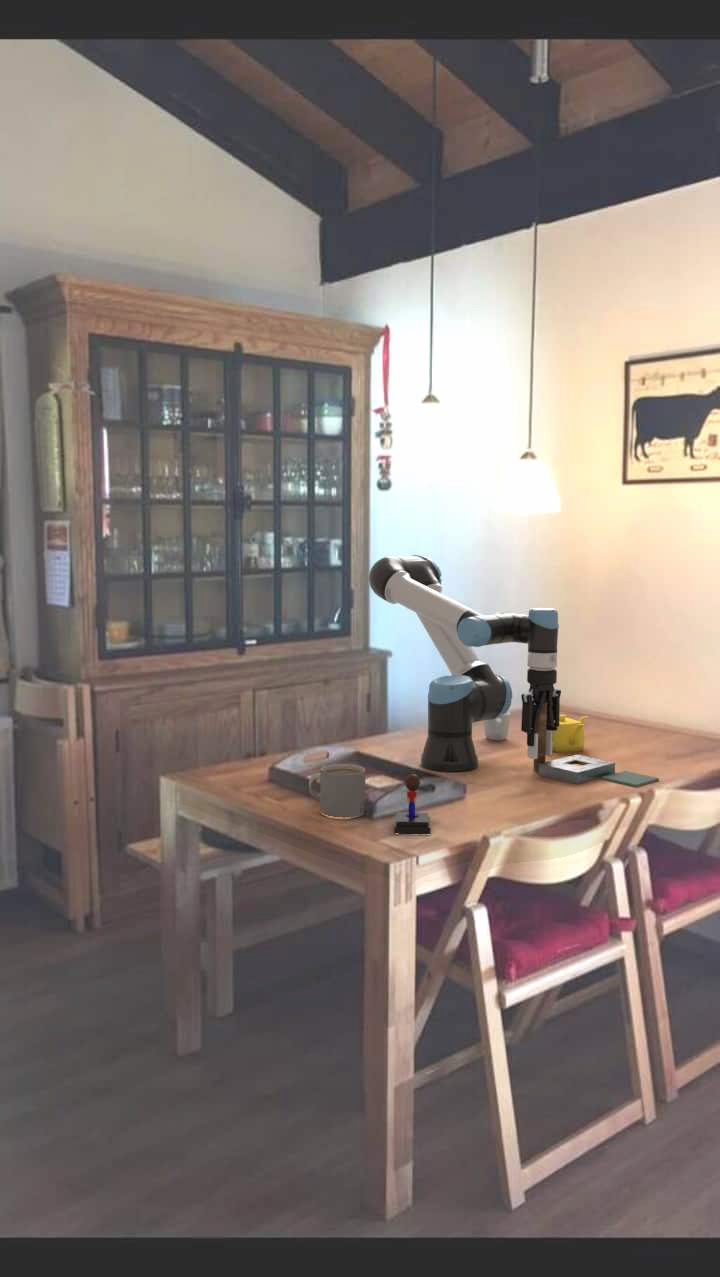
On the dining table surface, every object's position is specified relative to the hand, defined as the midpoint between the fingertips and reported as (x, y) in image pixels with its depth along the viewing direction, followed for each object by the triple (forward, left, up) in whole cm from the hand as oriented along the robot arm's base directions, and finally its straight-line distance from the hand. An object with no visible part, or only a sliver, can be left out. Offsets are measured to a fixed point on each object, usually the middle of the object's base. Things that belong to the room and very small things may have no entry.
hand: (539, 756), depth 271 cm
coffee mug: (-65, +5, -4) cm, 65 cm away
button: (+4, -9, -2) cm, 10 cm away
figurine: (-61, -15, -4) cm, 63 cm away
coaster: (+10, -21, -4) cm, 24 cm away
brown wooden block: (0, 0, -4) cm, 4 cm away
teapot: (+26, +13, -4) cm, 29 cm away
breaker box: (+4, -9, -4) cm, 11 cm away
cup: (+20, +32, -4) cm, 38 cm away
